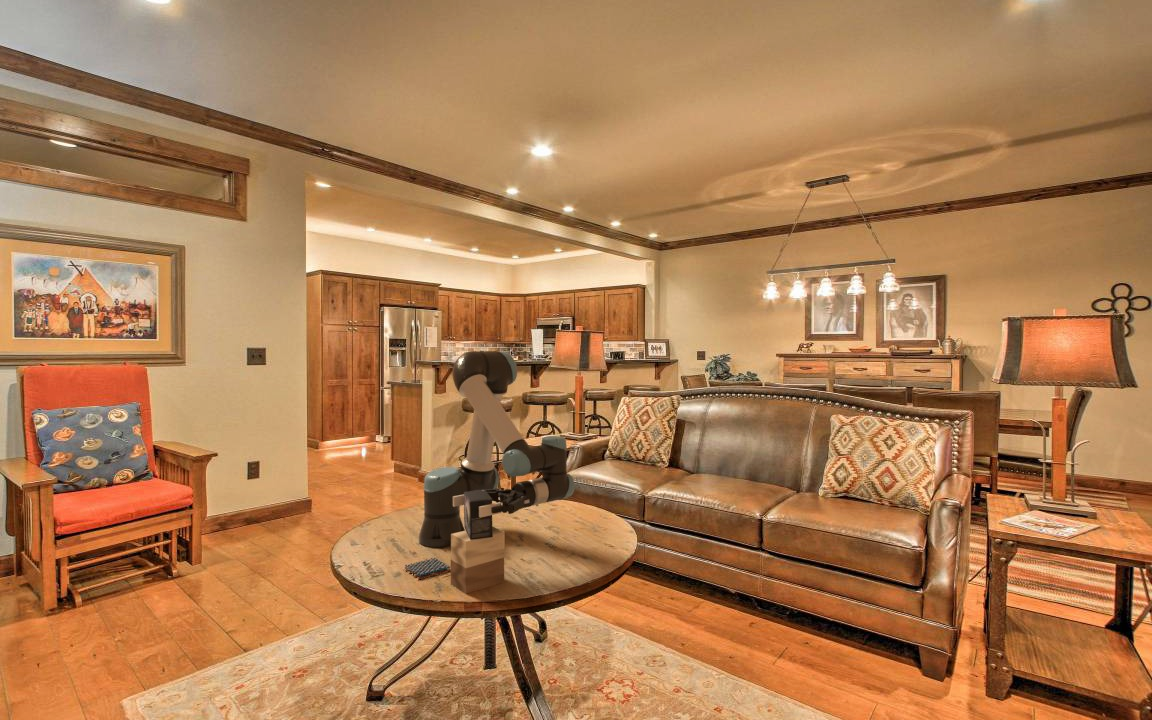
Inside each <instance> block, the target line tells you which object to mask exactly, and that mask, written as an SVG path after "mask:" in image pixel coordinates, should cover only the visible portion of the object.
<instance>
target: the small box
mask: <svg viewBox="0 0 1152 720" xmlns="http://www.w3.org/2000/svg"><path fill="white" fill-rule="evenodd" d="M489 504H493V501H492V498H491V497H490V496H489V494H488V493H487V492H486V490H477V491H469V492H464V505H463V513H464V514H463V515H464V516H463V518H464V519H463V520H464V523H463V527H464V530H465V531H466V532H467V534H468V536H469V538H470V540H474V539H482V538H491V537H493V529H492V527H493V515H490V516H485V517H481V518H480V517H479V507H480V506H484V505H489Z"/></svg>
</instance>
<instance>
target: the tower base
mask: <svg viewBox="0 0 1152 720" xmlns="http://www.w3.org/2000/svg"><path fill="white" fill-rule="evenodd" d="M450 569H451V571H450V585H451V586H452V585H453V586H452V587H454V588H455V587H456V590H459V591H460V592H461V593H463V594H465V595H467V593H468V594H470V592H471V593H474V592H476V591H479V590H483V589H486V588H489V587H493V586H495V585H498V584H502V583H504V582H505V557H504V558H500V559H497V560H493V561H490V562H486V563H483V564H479V565H476V566H472V567H469V568H464V567H463V566H461V565H459V564H458V563H456V562H454V561H452V560H451V559H450ZM473 591H474V592H473Z"/></svg>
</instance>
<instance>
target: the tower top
mask: <svg viewBox="0 0 1152 720" xmlns="http://www.w3.org/2000/svg"><path fill="white" fill-rule="evenodd" d="M492 529H493V537H491V538H482V539H474V540H470V538H469V536H468V534H467V532H466V530H465V531H462V532H458V533H453V534H451V546H450V561H451V560H452V561H454V562H456V563H458V564H459V565H461V566H463V567H464V568H469V567H472V566H476V565H479V564H483V563H486V562H490V561H493V560H497V559H500V558H504V559H505V557H506V554H505V553H506V551H505V548H506V545H505V542H506V541H505V536H506V535H505V534H506V533H505V531H504V530H501V529H499V528H497V527H494V526H492Z"/></svg>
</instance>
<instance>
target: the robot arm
mask: <svg viewBox="0 0 1152 720" xmlns="http://www.w3.org/2000/svg"><path fill="white" fill-rule="evenodd" d="M516 362H517V361H515V359H514V357H513V356H512V355H511V354H510V353H509V352H507V351H500V350H480V351H479V350H472V351H471V350H470V351H466V352H465V353H463V354H461V355H459V357H458V358H457V359H456V360H455V362H454V364H453V367H452V380H453V383H454V386H455V388H456V390H457V392H458V393H459V395H460V396H462V397H464V398H466V399H467V401H468V403H469V404H470V405H471V407H472V408H473V415H472V421H471V428H470V434H469V441H468V446H467V452H466V457H465V458H463V459H462V460H461V464H460V468H458V467H455V466H446V467H439V468H436V469H433V470H431V471H429V472H428V473H426V474H425V476H424V480H423V481H424V482H423V498H424V499H423V500H424V501H423V503H424V504H423V505H424V506H423V507H424V508H423V512H424V514H423V516H424V517H423V518H424V519H423V521H422V523H421V527H420V530H419V534H418V543H419V544H420V545H422V546H426V547H429V548H431V547H432V548H445V547H451V534H453V533H458V532H462V531H466V530H465V526H464V523H463V522H462V521H463V520H462V518H461V509H460V508H461V506H464V492H469V491H477V490H486V492H487V493H488V494H489V496H490V497H491V498H492V502H494V503H492V504H489V505H484V506H480V507H479V517H480V518H481V517H485V516H490V515H492V516H493V515H497V514H502V513H503V514H506V513H507V514H509V515H513V514H514V513H516V512H518V511H520V510H521V509H525V508H530V507H533V506H535V507H539V505H541V504H546V503H551V502H555V501H561V500H564V499H567V498H569V497H571V496H572V495H573V494H574V493H575V490H576V489H575V488H576V483H575V482H574V477H573V476H572V474H570V473H568V472H567V471H568V470H567V463H568V462H567V461H568V460H567V452H568V449H567V439H566V438H565V437H564V436H561V435H548V436H544V437H542V439H541V443H540V445H534V446H530V445H529V444H528V442H527V441H526V439H525V438H524V437H523V435H522V434H521V432H520V431H519V429H518V428H517V426H516V425H515V424H514V422H513V420H512V419H511V418H510V416H509V415H508V413H507V412H506V410H505V409H504V407H503V406H502V405H501V403H502V397H503V396H504V395H506V394H507V393H508V386H509V385H512V384H514V382H515V381H516V380H517V377H518V367H517V366H518V365H517V363H516ZM495 443H496V444H497V446H498V448H499V450H500V451H501V452H502V454H503V455H502V459H501V465H502V469H503V471H504V473H506V475H508V476H509V477H513V478H514V477H523V476H527V475H530V474H533V473H537V472H538V473H539V472H541V473H542V477H537V478H531V479H528V480H523V481H518V482H515V483H514V484H513V486H512V488H504V487H500V488H499V483H500V477H499V475H498V474H499V473H498V470H497V468H496V467H495V466H496V465H495V463H494V462H493V461H492V459H493V458H492V456H493V451H494V446H495Z"/></svg>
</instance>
